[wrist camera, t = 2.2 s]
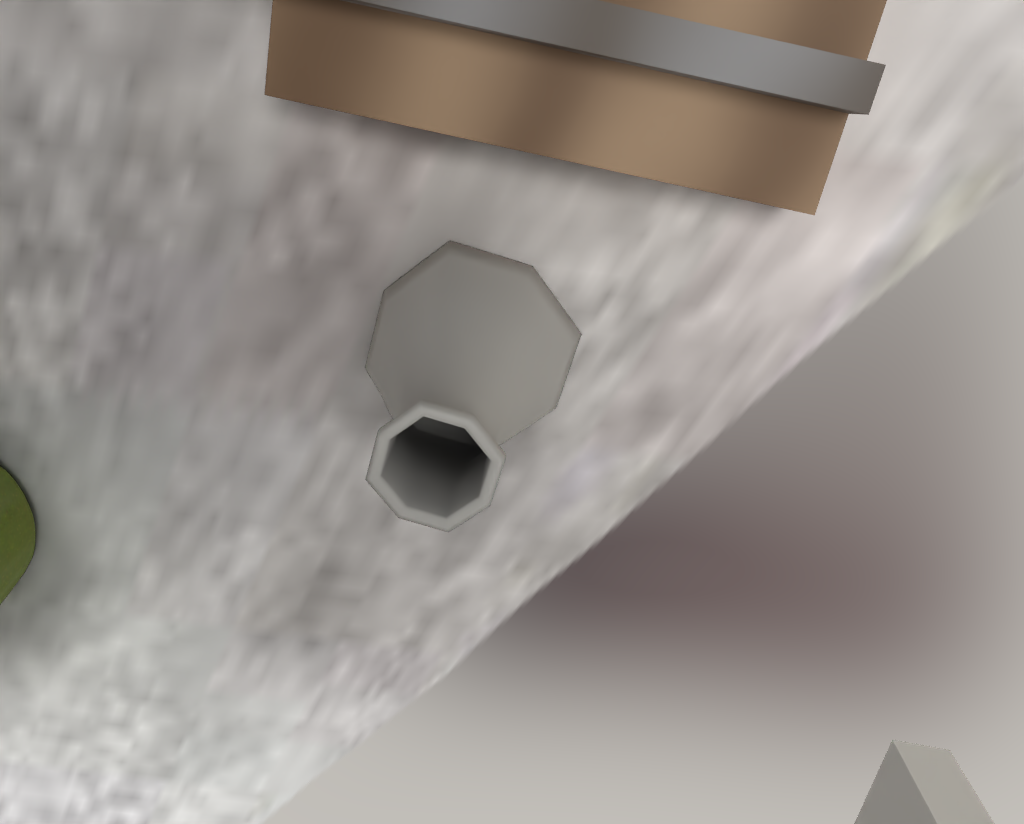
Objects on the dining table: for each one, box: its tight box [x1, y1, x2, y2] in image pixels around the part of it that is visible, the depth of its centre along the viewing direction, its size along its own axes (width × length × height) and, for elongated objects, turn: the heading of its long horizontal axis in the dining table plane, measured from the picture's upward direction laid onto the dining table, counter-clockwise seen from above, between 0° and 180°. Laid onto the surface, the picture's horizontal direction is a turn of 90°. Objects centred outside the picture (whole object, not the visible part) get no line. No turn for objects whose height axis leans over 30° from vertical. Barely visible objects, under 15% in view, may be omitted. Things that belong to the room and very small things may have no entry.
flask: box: [365, 241, 581, 532], centre depth 24 cm, size 7×7×10 cm
